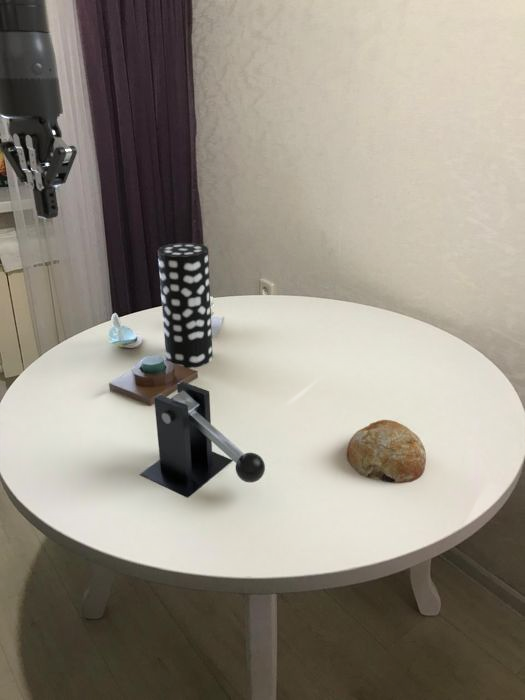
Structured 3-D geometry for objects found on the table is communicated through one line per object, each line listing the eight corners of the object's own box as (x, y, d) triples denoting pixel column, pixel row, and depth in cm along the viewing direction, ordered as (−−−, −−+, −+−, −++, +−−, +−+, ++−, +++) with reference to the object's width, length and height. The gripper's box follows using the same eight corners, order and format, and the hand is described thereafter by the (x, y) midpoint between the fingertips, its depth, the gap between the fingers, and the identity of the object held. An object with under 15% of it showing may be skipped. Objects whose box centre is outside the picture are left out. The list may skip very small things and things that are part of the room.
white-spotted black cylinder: (158, 364, 104) (148, 254, 95) (178, 345, 111) (170, 241, 102) (202, 371, 101) (196, 258, 93) (219, 351, 109) (215, 245, 100)
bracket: (233, 467, 77) (231, 388, 72) (188, 505, 70) (182, 421, 65) (186, 447, 81) (181, 371, 76) (139, 481, 74) (130, 400, 69)
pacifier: (139, 334, 116) (108, 337, 114) (138, 304, 113) (105, 307, 111) (144, 350, 109) (111, 353, 108) (142, 318, 107) (108, 321, 105)
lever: (264, 478, 70) (274, 461, 68) (247, 493, 67) (258, 476, 65) (180, 403, 74) (187, 385, 72) (161, 415, 71) (168, 396, 69)
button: (153, 376, 92) (152, 367, 91) (137, 371, 94) (136, 361, 93) (169, 368, 94) (168, 358, 94) (153, 362, 96) (152, 353, 96)
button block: (151, 412, 89) (149, 389, 87) (110, 395, 94) (107, 373, 92) (198, 383, 97) (197, 361, 96) (158, 369, 102) (156, 348, 100)
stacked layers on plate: (216, 337, 114) (215, 310, 112) (171, 335, 115) (169, 309, 113) (223, 317, 123) (222, 292, 121) (181, 316, 124) (179, 291, 122)
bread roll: (343, 499, 76) (347, 470, 70) (346, 431, 83) (349, 399, 77) (422, 506, 75) (432, 477, 69) (418, 437, 82) (427, 404, 75)
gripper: (86, 75, 71) (103, 218, 79) (19, 74, 78) (40, 206, 85) (33, 75, 66) (57, 229, 73) (-34, 75, 72) (-7, 216, 80)
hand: (48, 217), depth 79 cm, fingers closed
